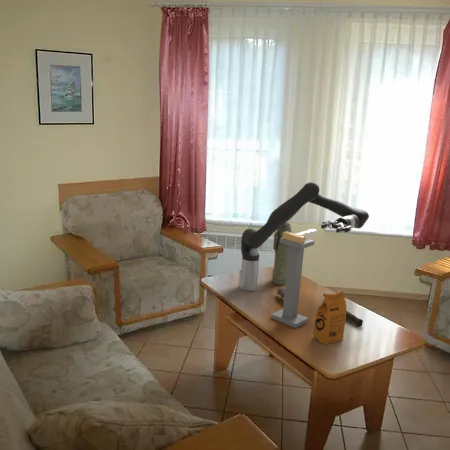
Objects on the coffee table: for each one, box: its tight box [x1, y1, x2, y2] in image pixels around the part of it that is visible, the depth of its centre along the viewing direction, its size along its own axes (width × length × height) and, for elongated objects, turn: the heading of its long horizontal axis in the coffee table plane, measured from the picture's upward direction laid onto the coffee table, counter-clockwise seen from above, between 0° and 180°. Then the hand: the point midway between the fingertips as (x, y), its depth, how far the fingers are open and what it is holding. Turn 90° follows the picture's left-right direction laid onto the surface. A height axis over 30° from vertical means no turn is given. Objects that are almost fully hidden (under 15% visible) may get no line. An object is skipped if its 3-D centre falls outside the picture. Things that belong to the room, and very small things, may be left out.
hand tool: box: [346, 310, 364, 328], centre depth 225 cm, size 19×4×5 cm, turn 24°
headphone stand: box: [270, 238, 315, 329], centre depth 216 cm, size 14×10×40 cm
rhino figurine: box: [276, 287, 285, 301], centre depth 243 cm, size 4×14×6 cm, turn 24°
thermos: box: [271, 222, 294, 286], centre depth 263 cm, size 9×12×35 cm
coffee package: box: [312, 289, 347, 345], centre depth 203 cm, size 10×12×22 cm
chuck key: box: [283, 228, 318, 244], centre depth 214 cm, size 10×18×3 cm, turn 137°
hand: (329, 228), depth 233 cm, fingers open, 8 cm apart
